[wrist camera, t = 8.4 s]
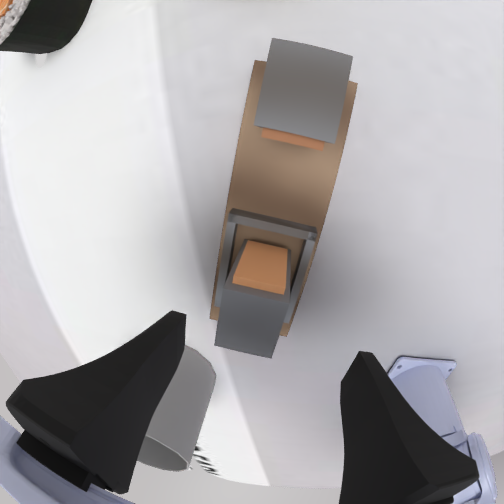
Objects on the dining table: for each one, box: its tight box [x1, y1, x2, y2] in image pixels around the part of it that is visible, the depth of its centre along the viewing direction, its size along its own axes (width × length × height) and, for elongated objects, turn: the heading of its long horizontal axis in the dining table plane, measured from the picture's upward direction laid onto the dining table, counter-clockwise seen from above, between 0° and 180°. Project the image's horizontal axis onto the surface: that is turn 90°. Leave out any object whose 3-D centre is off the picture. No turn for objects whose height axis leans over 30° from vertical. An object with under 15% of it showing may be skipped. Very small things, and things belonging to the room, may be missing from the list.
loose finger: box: [214, 239, 291, 358], centre depth 16 cm, size 4×3×6 cm
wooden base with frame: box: [210, 38, 358, 337], centre depth 15 cm, size 18×6×7 cm, turn 169°
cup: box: [137, 345, 216, 472], centre depth 21 cm, size 8×8×10 cm
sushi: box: [0, 0, 92, 54], centre depth 9 cm, size 8×8×8 cm
